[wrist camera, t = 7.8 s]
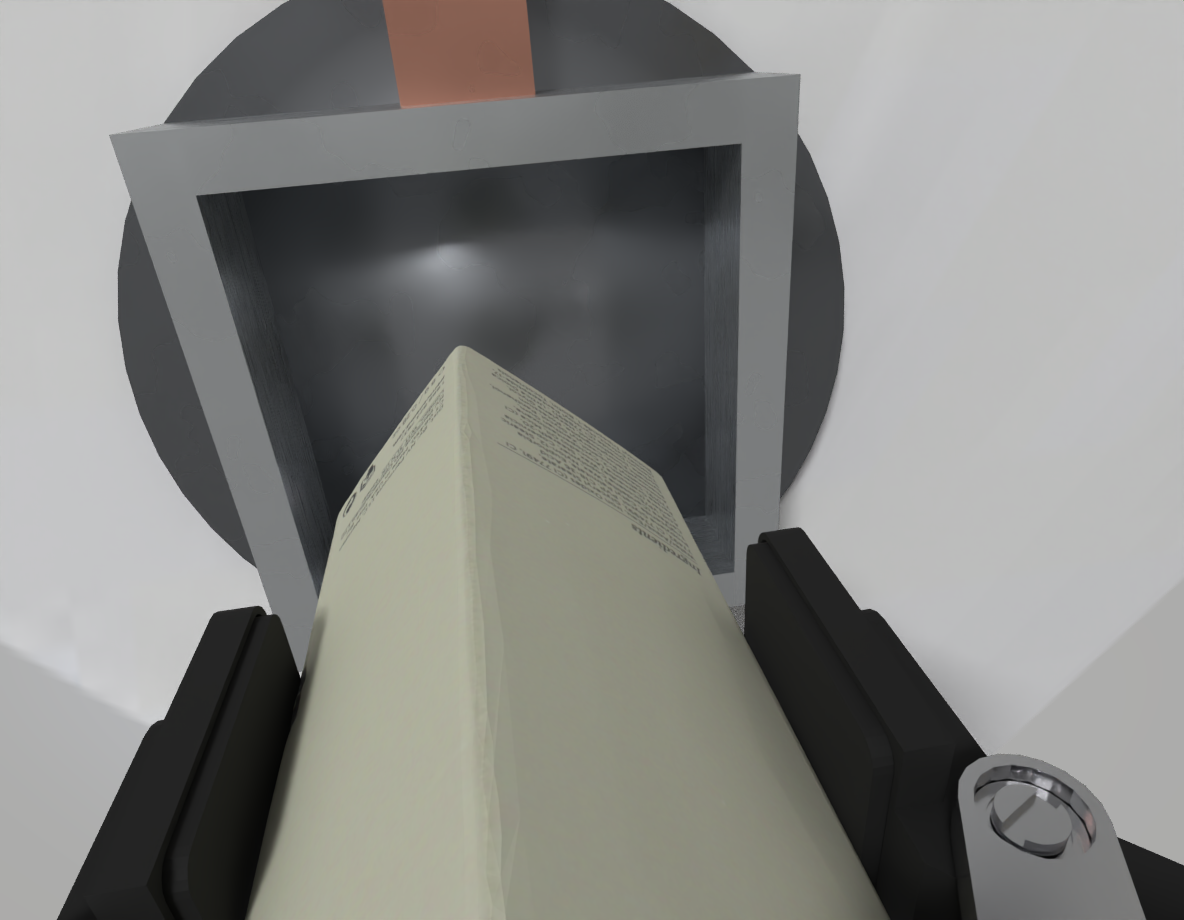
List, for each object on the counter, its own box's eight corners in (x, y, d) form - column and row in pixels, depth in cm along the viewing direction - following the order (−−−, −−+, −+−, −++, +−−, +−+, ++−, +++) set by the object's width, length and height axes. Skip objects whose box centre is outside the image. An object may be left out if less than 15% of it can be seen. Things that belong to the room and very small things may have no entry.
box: (331, 511, 15) (-139, 2079, 3) (463, 328, 13) (453, 1838, 2) (553, 627, 17) (738, 1839, 5) (686, 479, 15) (1299, 1643, 4)
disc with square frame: (871, -265, 16) (982, -354, 13) (809, 581, 27) (860, 660, 23) (-76, -219, 15) (-248, -307, 11) (252, 664, 25) (217, 762, 22)
